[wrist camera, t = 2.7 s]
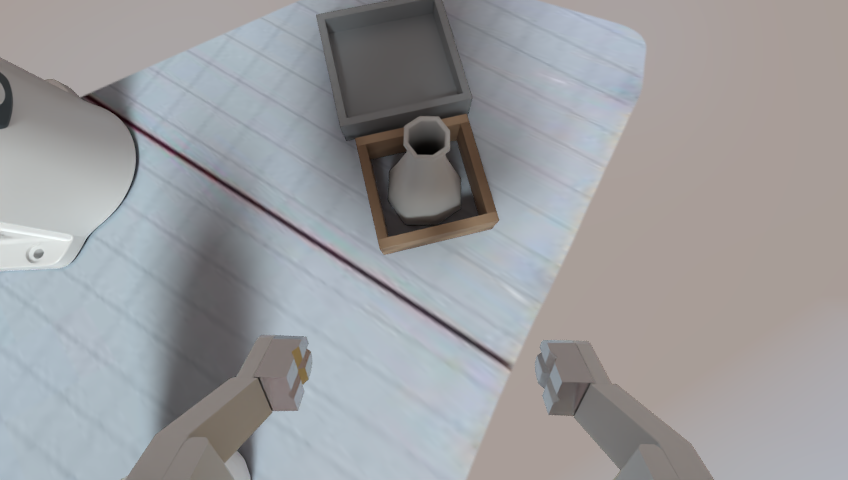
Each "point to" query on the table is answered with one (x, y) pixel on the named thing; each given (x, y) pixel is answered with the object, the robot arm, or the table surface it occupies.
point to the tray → (392, 65)
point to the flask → (425, 175)
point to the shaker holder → (486, 220)
